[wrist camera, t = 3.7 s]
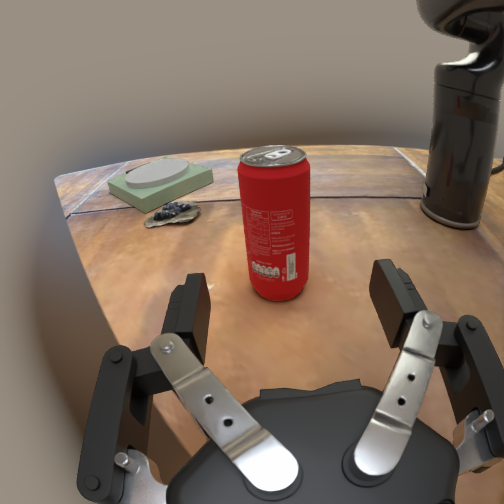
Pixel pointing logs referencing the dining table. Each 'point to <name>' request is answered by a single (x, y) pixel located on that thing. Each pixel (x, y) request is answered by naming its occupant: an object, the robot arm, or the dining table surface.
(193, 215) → the geode
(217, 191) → the dining table surface
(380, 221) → the dining table surface
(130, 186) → the scale
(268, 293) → the beverage can
